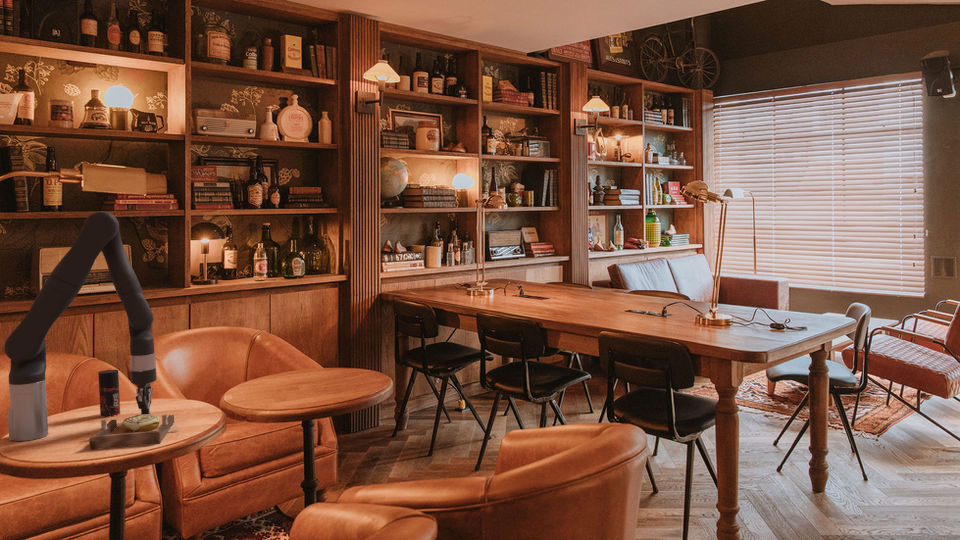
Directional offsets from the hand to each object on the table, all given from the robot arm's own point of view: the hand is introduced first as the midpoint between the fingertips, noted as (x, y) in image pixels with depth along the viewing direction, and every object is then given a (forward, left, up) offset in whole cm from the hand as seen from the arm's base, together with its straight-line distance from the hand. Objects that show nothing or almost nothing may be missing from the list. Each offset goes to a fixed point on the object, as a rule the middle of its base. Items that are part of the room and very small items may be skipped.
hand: (145, 419), depth 216 cm
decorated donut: (0, -7, -1) cm, 7 cm away
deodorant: (-14, +14, -1) cm, 20 cm away
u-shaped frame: (0, -14, -1) cm, 14 cm away
